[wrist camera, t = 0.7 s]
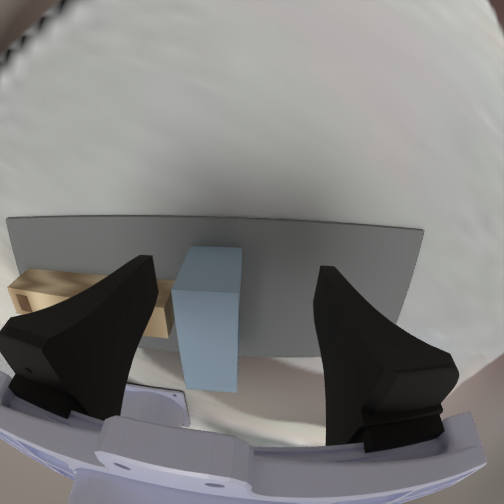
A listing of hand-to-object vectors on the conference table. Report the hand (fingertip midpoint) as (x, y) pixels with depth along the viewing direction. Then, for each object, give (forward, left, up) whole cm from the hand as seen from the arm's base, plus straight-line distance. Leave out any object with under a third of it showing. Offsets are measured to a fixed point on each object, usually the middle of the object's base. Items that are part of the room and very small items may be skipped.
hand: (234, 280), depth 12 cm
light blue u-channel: (-2, -8, -10) cm, 13 cm away
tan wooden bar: (-14, -8, -10) cm, 19 cm away
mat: (-4, -8, -10) cm, 14 cm away
